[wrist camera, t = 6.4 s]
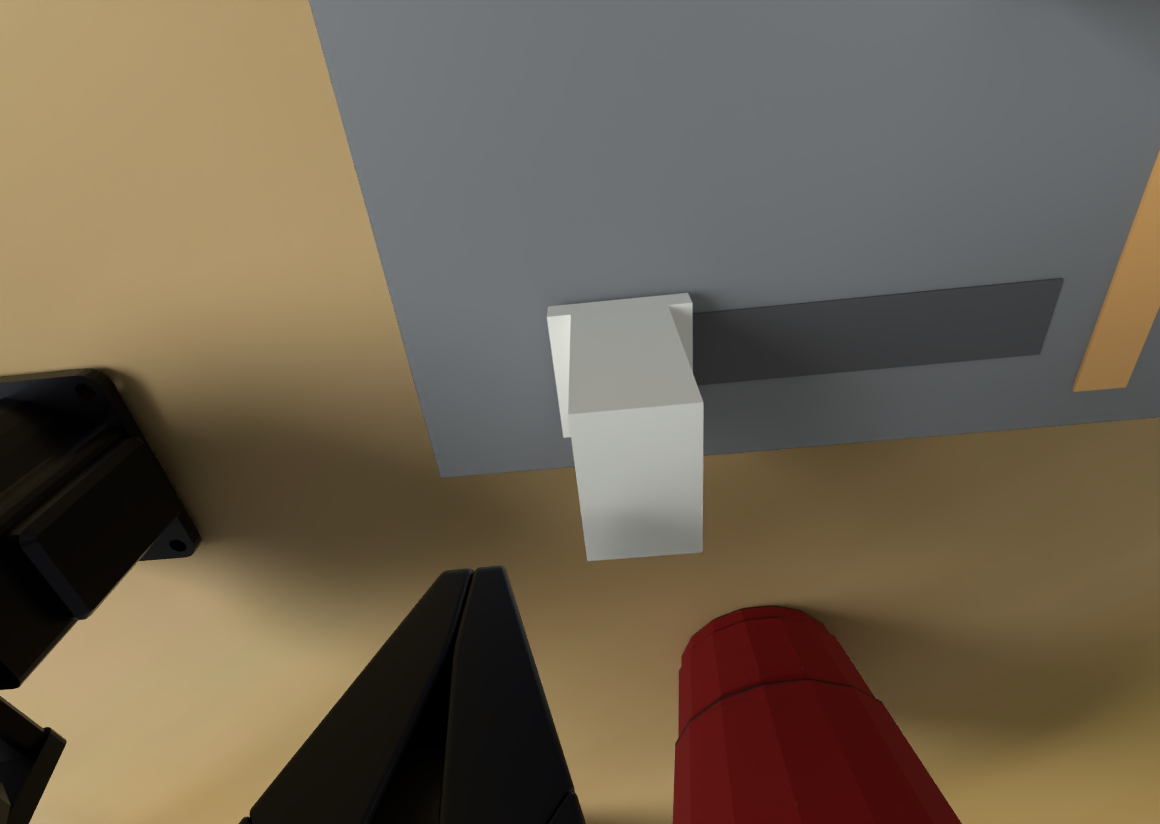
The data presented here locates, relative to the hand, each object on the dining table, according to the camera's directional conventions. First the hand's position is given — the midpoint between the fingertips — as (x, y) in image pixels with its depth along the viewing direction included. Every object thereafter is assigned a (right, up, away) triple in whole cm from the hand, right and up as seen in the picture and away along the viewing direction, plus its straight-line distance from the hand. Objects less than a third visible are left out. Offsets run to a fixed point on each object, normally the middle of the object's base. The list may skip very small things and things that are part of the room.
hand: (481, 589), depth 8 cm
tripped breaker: (+2, +4, +5) cm, 7 cm away
